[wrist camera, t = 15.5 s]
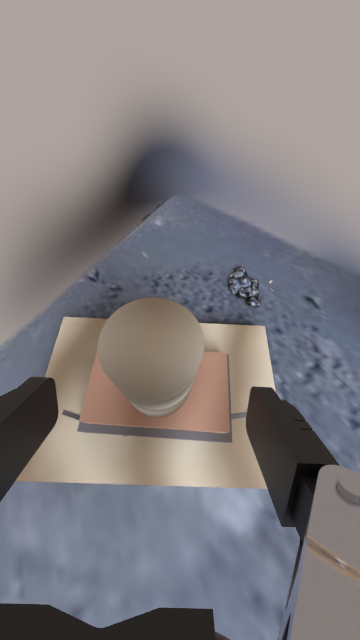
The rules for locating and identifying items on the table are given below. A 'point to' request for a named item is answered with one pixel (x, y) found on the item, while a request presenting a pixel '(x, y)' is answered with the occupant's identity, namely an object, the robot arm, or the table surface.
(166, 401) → the block
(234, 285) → the gravel pile
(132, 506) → the table surface
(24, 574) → the table surface
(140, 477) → the board
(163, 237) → the table surface
